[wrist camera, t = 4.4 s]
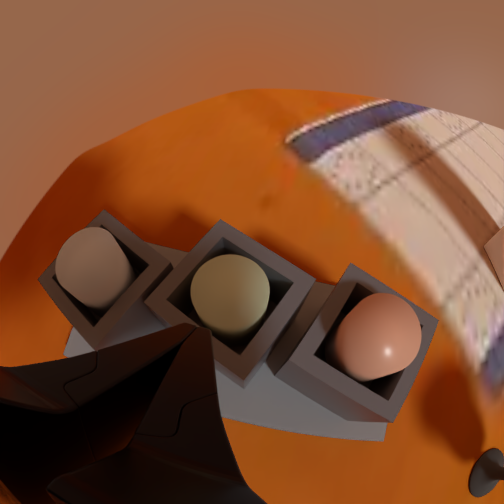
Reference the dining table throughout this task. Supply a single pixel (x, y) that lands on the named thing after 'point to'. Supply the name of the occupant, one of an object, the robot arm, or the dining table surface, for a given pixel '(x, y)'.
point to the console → (265, 341)
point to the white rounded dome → (94, 269)
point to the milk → (497, 253)
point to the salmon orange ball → (374, 338)
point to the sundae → (487, 473)
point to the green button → (231, 298)
